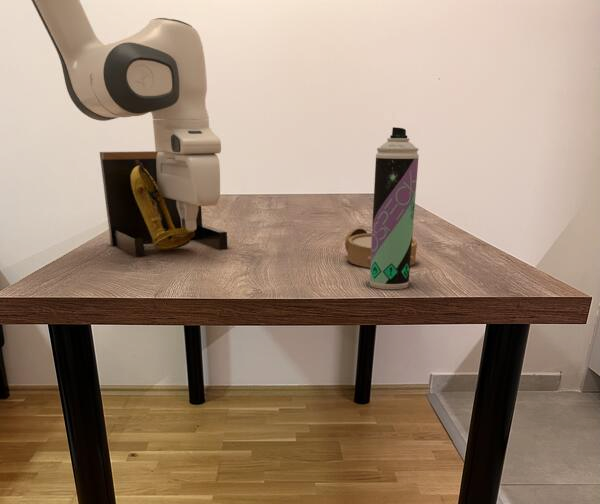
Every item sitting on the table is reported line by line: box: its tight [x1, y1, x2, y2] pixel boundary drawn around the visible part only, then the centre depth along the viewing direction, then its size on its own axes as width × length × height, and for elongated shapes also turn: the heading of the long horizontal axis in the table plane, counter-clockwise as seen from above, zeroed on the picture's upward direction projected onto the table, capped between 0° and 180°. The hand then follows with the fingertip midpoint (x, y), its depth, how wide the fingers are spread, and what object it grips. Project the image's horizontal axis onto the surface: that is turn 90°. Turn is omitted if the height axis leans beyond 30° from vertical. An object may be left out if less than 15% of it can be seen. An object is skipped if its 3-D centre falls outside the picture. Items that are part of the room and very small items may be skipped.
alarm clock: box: [344, 228, 418, 269], centre depth 106 cm, size 11×5×15 cm
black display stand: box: [99, 150, 229, 258], centre depth 114 cm, size 18×14×16 cm
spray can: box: [369, 126, 420, 290], centre depth 85 cm, size 6×6×20 cm
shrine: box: [131, 160, 195, 251], centre depth 111 cm, size 12×8×15 cm
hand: (189, 229), depth 108 cm, fingers closed
